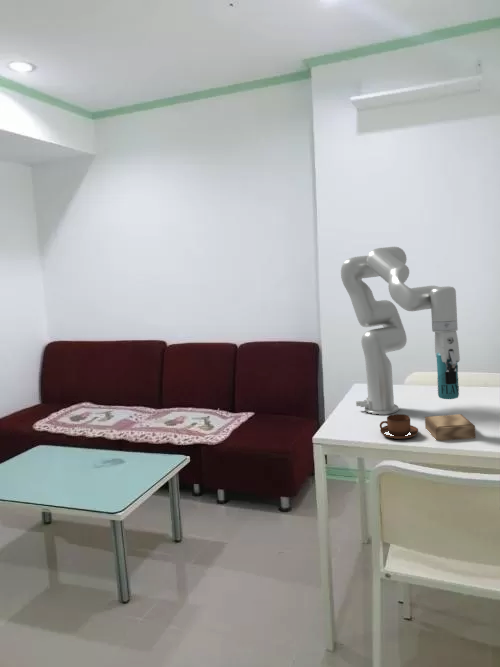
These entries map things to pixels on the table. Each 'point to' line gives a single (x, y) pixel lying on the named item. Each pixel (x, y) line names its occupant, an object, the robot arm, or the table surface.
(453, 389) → the beverage bottle
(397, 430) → the cup and saucer
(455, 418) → the walnut base
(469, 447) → the table surface
